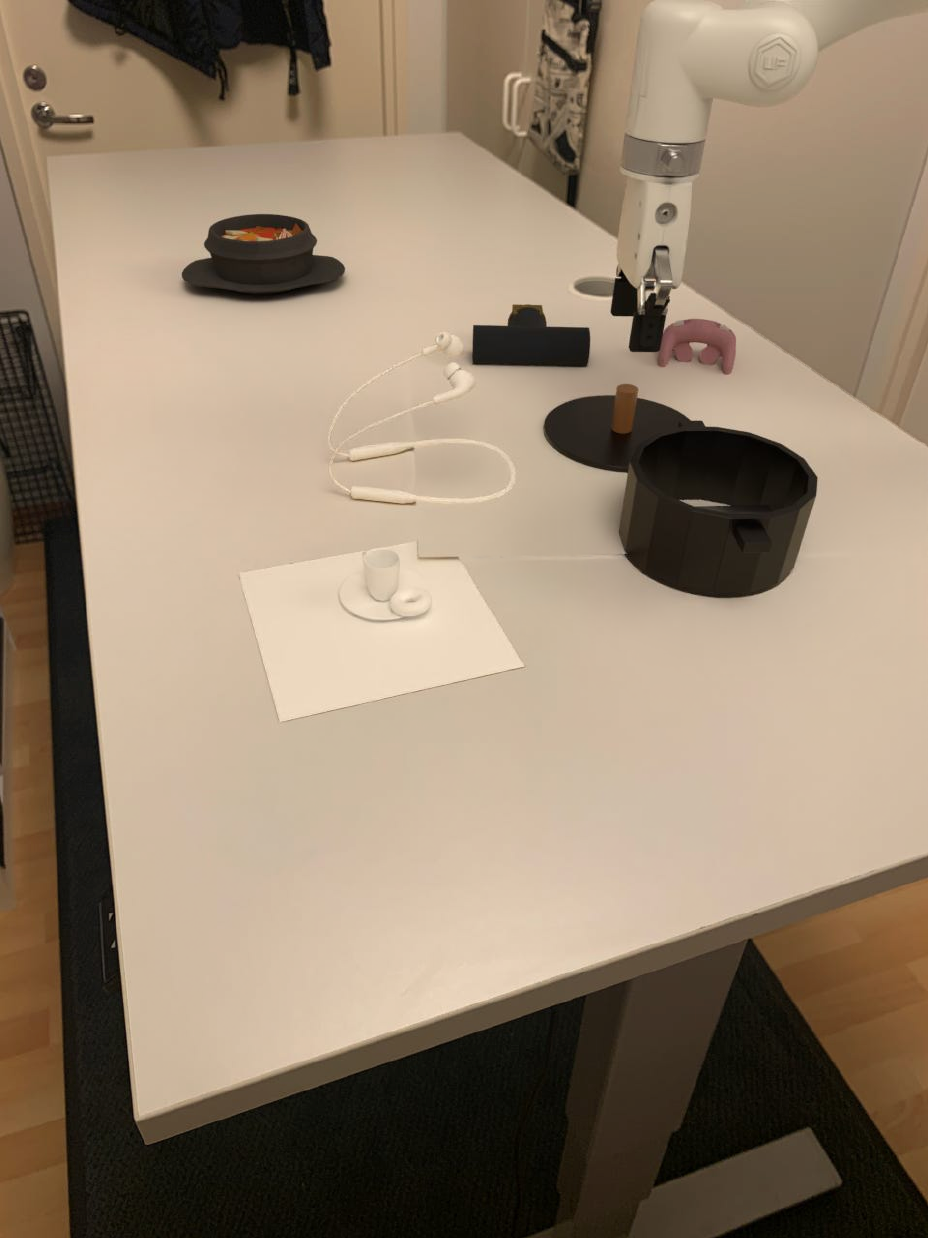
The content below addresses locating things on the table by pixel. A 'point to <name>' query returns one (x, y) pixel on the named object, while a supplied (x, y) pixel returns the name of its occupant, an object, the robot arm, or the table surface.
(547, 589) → the table surface
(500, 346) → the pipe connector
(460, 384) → the earphone
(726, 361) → the video game controller
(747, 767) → the table surface
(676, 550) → the pot
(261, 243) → the casserole
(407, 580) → the teacup and saucer
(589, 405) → the lid
